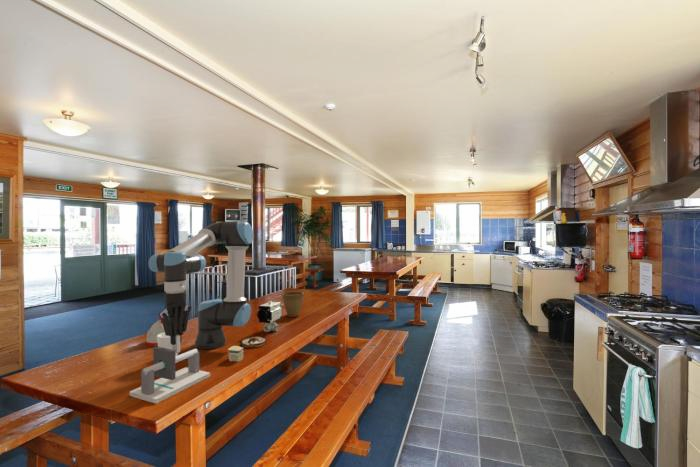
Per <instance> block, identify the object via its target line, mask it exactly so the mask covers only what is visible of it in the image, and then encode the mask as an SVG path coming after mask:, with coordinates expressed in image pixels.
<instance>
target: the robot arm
mask: <svg viewBox="0 0 700 467" xmlns="http://www.w3.org/2000/svg"><path fill="white" fill-rule="evenodd" d="M253 240H254V231H253V227H252V226H251V224H250V223H249V222H248V221H242V220H241V221H239V220H237V221H217V222H215V223H212V224H209V225H207V226H205V227H203V228H201V229H200V230H199V231H198V233H197V234H195V235H194V236H192V237H190V238H189V239H187V240H186V241H183V242H181V243H179V244H178V245H177V246H174V247H173V248H172V249H169V250H168V251H166V252H165V253H161V254H160V253H158V254H153V255H151V256H150V257H149V260H148V264H147V265H148V268H149V270H150V271H151V272H153V273H154V272H155V273H161V274H162V273H164V282H163V283H164V284H163V286H164V289H163V290H164V303H165V306H164V310H163V311H162V312H161V311H160V312H158V317H159V316H160V317H161V319H162V323H163V327H164V331H165V335H167V336H170V339H171V344H172V350H175V353H178V354H179V353H180V352H181V343H182V335H184V333H185V332H186V331H187V327H188V322H189V316H190V313H191V310H192V306H189V305H187V302H186V301H187V291H186V290H187V275H189V274H195V273H199V272H203V271H204V270H205V268H206V266H207V260H206V258H205V256H203V255H202V254H200V253H199V252H201V251H203V250H204V249H205V248H208V247H212V246H214V245H218V244H225V245H224V247H225V248H226V249H227V251H228V252H227V274H226V275H227V277H226V297H225V298H223V299H221V298H216V299H210V300H204V301H202V302H200V303H199V304H198V307H197V308H198V309H197V320H198V321H197V326H198V328H197V329H198V331H197V334H196V338H195V341H194V349H197V350H214V349H217V348H220V347H223V346H224V345H226V343H227V341H226V340H227V338H226V336H225V333H224V330H223V326H224V327H244V326H245V325H247V323H248V322H249V320H250V319H251V318H250V317H251V313H252V306H251V304H249V303H248V302H247V301H248V300H247V299H248V298H246V297H245V276H246V251H247V250H248V249H249V247H250V244H252V243H253ZM198 253H199V254H198Z"/></svg>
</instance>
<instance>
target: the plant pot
mask: <svg viewBox="0 0 700 467" xmlns="http://www.w3.org/2000/svg"><path fill="white" fill-rule="evenodd" d="M282 299H283V305H284V308H285V311H286V314H287V316H288V317H290V318H295V317H299V315H300V312H301V309H302V305H303V302H304V292H303V291H286V292H283V293H282Z"/></svg>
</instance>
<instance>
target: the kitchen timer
mask: <svg viewBox="0 0 700 467" xmlns="http://www.w3.org/2000/svg"><path fill="white" fill-rule="evenodd" d="M164 332H165V331H164V327H163V323H162V319H161V317H160V316H159V315H158V320H156V321H155V322H154V323H153V324H152V325H151V327H150V329H148V330H147V334H146V341H145V342H146V345H147V346H149V347H158V343H157V335H158V334H160V333H164Z"/></svg>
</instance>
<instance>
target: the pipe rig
mask: <svg viewBox="0 0 700 467" xmlns="http://www.w3.org/2000/svg"><path fill="white" fill-rule="evenodd" d="M198 350H199V349H197V348H193V349H190V350H188V351H186V352H183V353H181V354H178V356H175V364H177V363H179V362H181V361H184V360H186V359H188V360H187V362H188V364H187V366H185V367H183V368H181V369H178V370H175V379H174V380H169V379H165V378H161V377H159V378H158V379H155V376H154V372H155V371H157V370H160V369H163V368H166V361H161V362H160V363H157V364H154V363H153V364H152V365H150V366H147V367H144V368H143V369H142V370H141V371H140V373H141V375H140V377H141V379H140V380H141V382H140V383H141V386H139V387H137V388H135V389H132V390H130V391H129V393H128V394H129V396H130V397H132V398H136V399H139V400H141V401H142V400H143V401H146V402H149V403H153V404H154V405H156V404H159V403H160V402H162V401H164V400H167V399H168V398H171V397H172V396H174V395H176V394H178V393H180V392H182V391H184V390H186V389H188V388H190V387H192V386H194V385H197V384H198V383H199V382H201V381H205V380H206V379H208V378H209V377H211V372H210V371H204V370H200V352H199V351H198Z"/></svg>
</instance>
